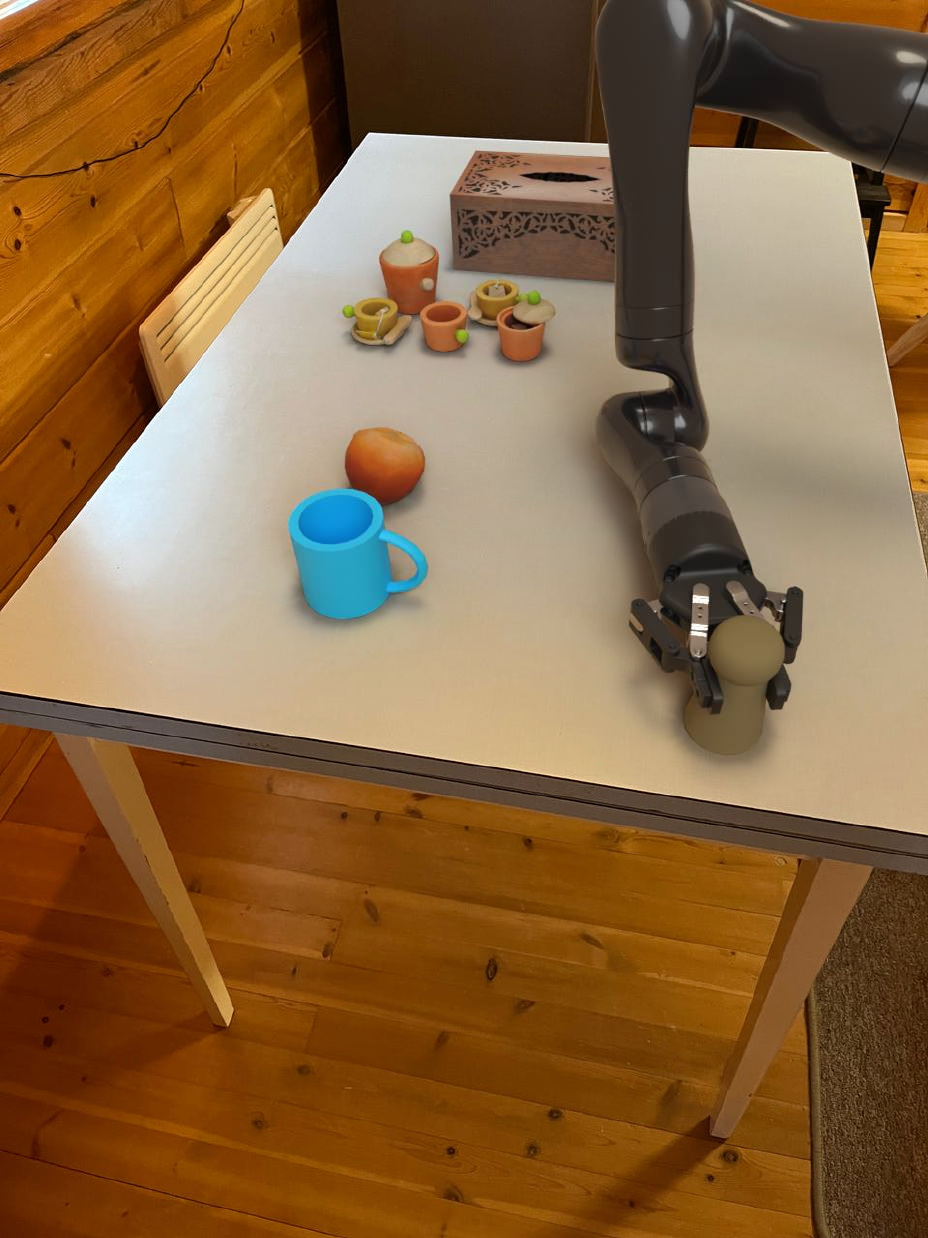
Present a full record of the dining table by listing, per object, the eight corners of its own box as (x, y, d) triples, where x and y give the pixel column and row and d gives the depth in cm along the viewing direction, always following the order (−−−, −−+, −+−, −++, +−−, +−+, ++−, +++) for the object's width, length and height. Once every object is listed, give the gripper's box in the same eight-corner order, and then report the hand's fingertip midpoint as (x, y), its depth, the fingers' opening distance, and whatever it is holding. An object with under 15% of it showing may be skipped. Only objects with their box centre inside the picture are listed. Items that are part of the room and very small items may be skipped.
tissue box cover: (453, 269, 126) (449, 194, 118) (478, 222, 135) (475, 150, 128) (645, 283, 121) (653, 206, 113) (656, 234, 130) (664, 159, 123)
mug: (290, 610, 83) (272, 543, 77) (323, 550, 89) (308, 482, 83) (417, 633, 81) (409, 565, 75) (443, 569, 86) (437, 501, 80)
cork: (681, 688, 75) (703, 600, 66) (757, 691, 74) (789, 603, 66) (686, 753, 71) (710, 668, 63) (767, 756, 71) (802, 672, 62)
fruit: (315, 489, 92) (337, 413, 89) (371, 489, 99) (393, 418, 95) (369, 526, 88) (394, 447, 85) (423, 523, 94) (448, 450, 91)
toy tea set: (335, 346, 113) (323, 271, 106) (381, 285, 123) (373, 213, 116) (542, 374, 107) (544, 297, 100) (573, 308, 117) (576, 233, 110)
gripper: (610, 515, 75) (655, 680, 63) (785, 501, 75) (862, 664, 63) (604, 581, 80) (643, 744, 68) (767, 568, 80) (834, 729, 69)
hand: (748, 704), depth 66 cm, fingers closed on cork, 4 cm apart
